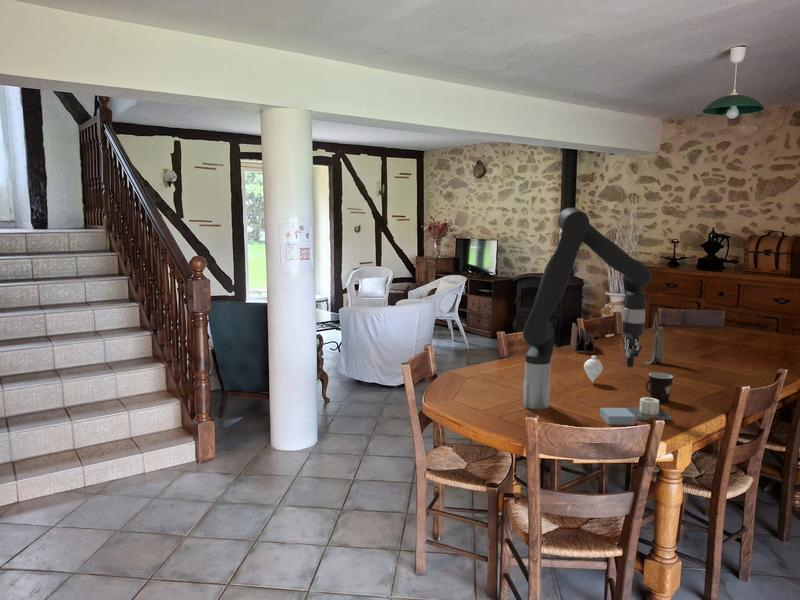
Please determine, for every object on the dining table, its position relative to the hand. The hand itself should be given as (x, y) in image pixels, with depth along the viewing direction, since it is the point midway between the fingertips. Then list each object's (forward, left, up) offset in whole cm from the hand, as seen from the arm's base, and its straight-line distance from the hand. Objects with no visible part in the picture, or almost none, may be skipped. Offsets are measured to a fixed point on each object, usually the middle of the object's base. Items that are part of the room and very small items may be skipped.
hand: (629, 366), depth 208 cm
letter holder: (+13, +103, -17) cm, 105 cm away
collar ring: (+5, -7, -15) cm, 17 cm away
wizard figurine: (+40, +71, -17) cm, 83 cm away
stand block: (-8, -12, -16) cm, 22 cm away
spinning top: (-2, +35, -17) cm, 39 cm away
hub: (+5, -7, -16) cm, 18 cm away
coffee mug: (+15, +11, -17) cm, 25 cm away
